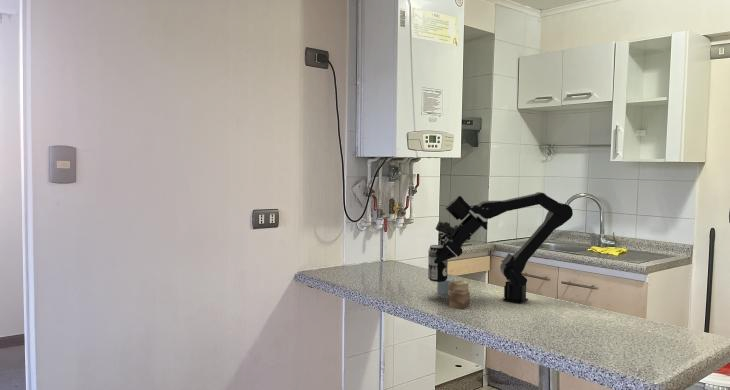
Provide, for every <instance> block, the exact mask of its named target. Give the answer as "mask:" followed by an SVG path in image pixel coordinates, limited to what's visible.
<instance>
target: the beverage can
mask: <svg viewBox="0 0 730 390" xmlns="http://www.w3.org/2000/svg"><path fill="white" fill-rule="evenodd" d="M442 249H443V245H440V244H430V245H429V249H428V256H427V257H428V266H427V267H428V270H427V272H428V273H427V275H428V276H427V277H428V279H429V281H431V282H433V283H438V282H444V281H446V279H447V278H448V260H449V259H448V260H445V261H442V262H440V263H437V264H435V263H434V260H435V259H436V258H437V256H438V255H439V254H440V252H441V251H442Z"/></svg>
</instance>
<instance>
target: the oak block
mask: <svg viewBox="0 0 730 390" xmlns="http://www.w3.org/2000/svg"><path fill="white" fill-rule="evenodd" d="M469 286H470V285H469V282H466V281H464V280H457V279H456V280H454V281H451V282H448V296H449V295H450V292H451V291H453V290H455V289H456V290H463V291H469Z"/></svg>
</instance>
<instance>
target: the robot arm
mask: <svg viewBox="0 0 730 390" xmlns="http://www.w3.org/2000/svg"><path fill="white" fill-rule="evenodd" d="M538 205H539V206H540V207H542V208H543V209H545V210H547V213H546V216H545V217H544V220H543V221H542V223H541V224H540V225H539V226H538V228H537V229H536V230H535V231H534V232H533V233H532V234H531V236H530V237H529V238H528V240H526V241H525V242H524V244H523V245H522V246H521V248H519V249H518V251H517V252H515V253H513V254H511V253H508V254H507V255H506V256H505V258H504V259H503V260H501V261H500V262H501V264H500V267H499V269H500V273H501V274H502V275H503V276H504V278H506V281H505V284H504V286H503V289H504V290H503V298H502V301H506V302H512V303H517V304H522V303H525V302H527V301H528V300H529V298H528V297H527V283H528V279H527V277H525V276H524V275H523V274H522V273H523V271H524V269H525V268H526V264H527V263H528V261H529V259H531V257H532V256H533V255H534V254H535V253H536V252H537V250H539V248H540V247H541V246H542V245H543V243H544V242H545V241H546V240H547V239H548V238H549V237H550V235H551V234H552V233H553V232H554V231H555V230H556V229H558V228H560V227H561V226H563V225H564V224H566V223H567V222H568V221H569V220H570V219H572V217H573V213H574V212H573V208H572V207H571V206H570V205H569V204H567V203H562V202H558V200H555V199H554V198H552V197H550V196H548V195H547V194H546V193H545V192H540V191H538V192H535V193H532V194H527V195H522V196H518V197H513V198H509V199H504V200H483V201H481V202H479V203H478V204H475V205H473V204H472V205H469V204H468V203H467V202H466V200H464V198H463V197H462V196H461V195H458V196H457V197H456V198H455V199H453V200H452V201H450V202H449V203H448V205H447V206H445V210H446V211H447V212H448V213H449V214H450V215H451V216H452V217H453V218H454V219H455V220H456V221H458V220H460V221H461V222H460V223H459V224H457V225H454V226H452V225H451V223H449V222H447V221H444V222H443V221H442V220H441V221H440V220H439V221H438V223H437V224H436V227H435V230H436V231H438V232H439V233H442V235H441V236H440V244H439V245H443V249H442V251H441V252H440V254H439V255H438V256H437V258H436V259H435V260H434V263H435V264H437V263H440V262H442V261H445V260H451V259H452V258H456V257H458V258H459V257H460V256H461V255H462V254H463V245H464V244H465V243H466V242H467V241H470V240H471V238H472V236H474V234H475V233H476V232H477V231H478V230H479V229H481V228H482V229H483V230H485V231H486V230H488V224H489V223H488V221H484V220H483V219H486V220H490V219H493V218H495V217H497V216H499V215H501V214H504V213H506V212H511V211H514V210H515V211H516V210H520V209H524V208H528V207H533V206H538ZM472 213H474V214H476V216H474V215H473V214H472ZM482 218H483V219H482Z"/></svg>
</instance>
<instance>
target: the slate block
mask: <svg viewBox="0 0 730 390" xmlns="http://www.w3.org/2000/svg"><path fill="white" fill-rule="evenodd" d="M451 281H455V280H454V278H451V277H447V279H446V281H444V282H437V294H438V295H448V282H451ZM448 296H449V295H448Z"/></svg>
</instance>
